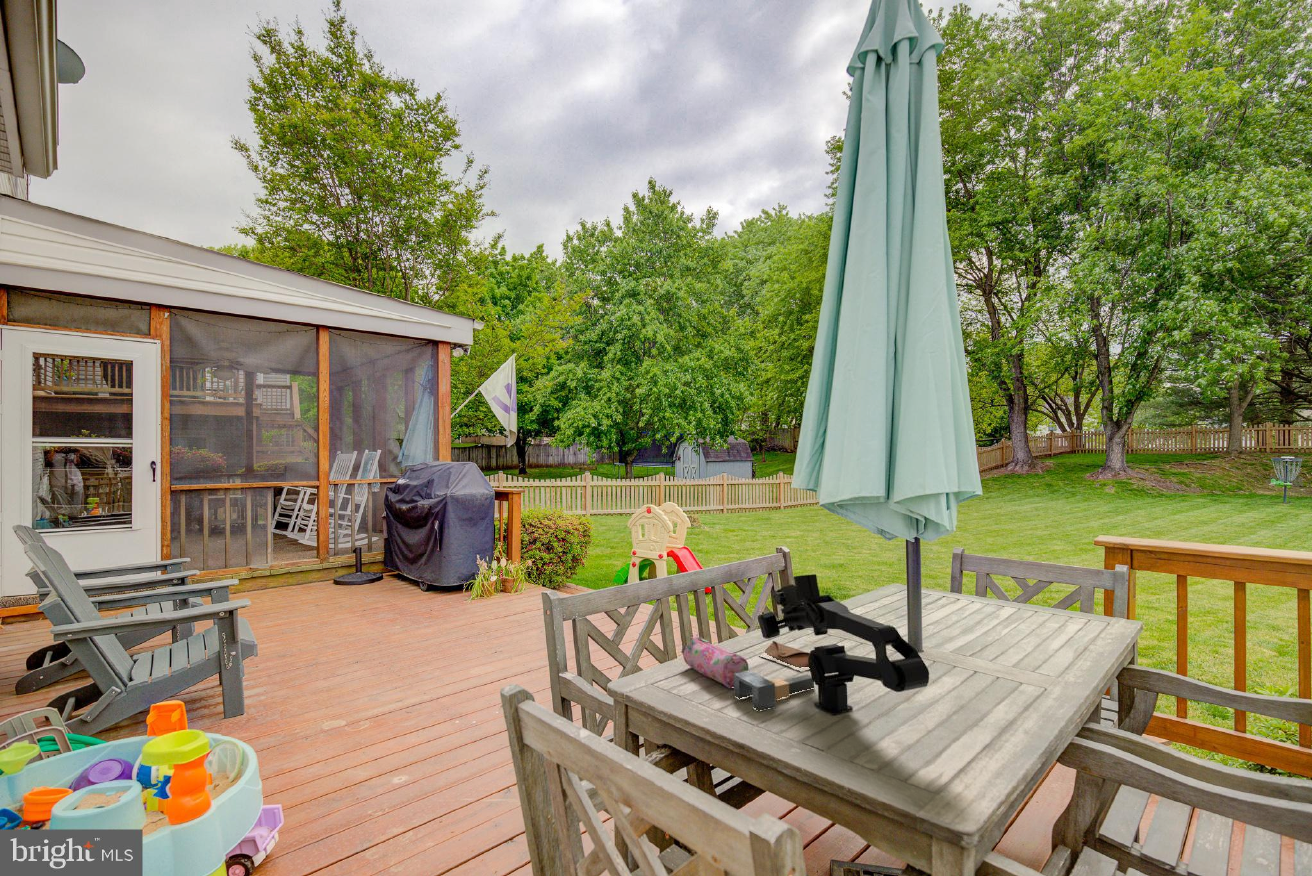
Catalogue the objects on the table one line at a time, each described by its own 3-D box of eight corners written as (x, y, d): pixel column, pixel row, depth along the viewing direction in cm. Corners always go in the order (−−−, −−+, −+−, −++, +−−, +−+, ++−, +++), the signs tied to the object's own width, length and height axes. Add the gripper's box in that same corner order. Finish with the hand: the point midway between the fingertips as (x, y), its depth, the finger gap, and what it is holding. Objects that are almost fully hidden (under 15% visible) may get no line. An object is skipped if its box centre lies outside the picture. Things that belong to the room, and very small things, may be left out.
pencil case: (680, 668, 162) (679, 637, 163) (706, 662, 167) (706, 632, 167) (722, 694, 144) (722, 658, 144) (751, 686, 148) (750, 652, 148)
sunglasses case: (755, 656, 170) (762, 635, 173) (768, 663, 174) (775, 642, 176) (802, 673, 156) (809, 649, 158) (816, 681, 160) (823, 658, 162)
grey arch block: (775, 707, 135) (774, 683, 135) (758, 712, 132) (758, 687, 133) (750, 693, 144) (749, 670, 144) (734, 697, 141) (733, 673, 142)
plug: (816, 690, 145) (815, 676, 145) (776, 700, 139) (776, 686, 139) (805, 684, 148) (805, 671, 148) (766, 695, 142) (766, 681, 142)
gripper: (824, 577, 150) (792, 583, 164) (766, 594, 143) (738, 599, 156) (838, 619, 147) (804, 622, 161) (780, 638, 140) (750, 640, 153)
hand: (775, 619), depth 158 cm, fingers open, 9 cm apart
